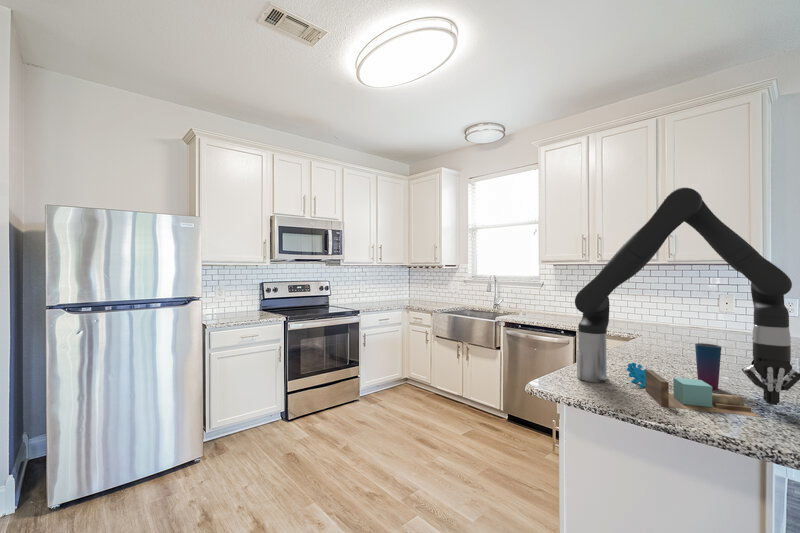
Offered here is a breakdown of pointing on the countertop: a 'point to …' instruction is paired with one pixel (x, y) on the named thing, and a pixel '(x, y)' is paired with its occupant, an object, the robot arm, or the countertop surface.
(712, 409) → the board
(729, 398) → the dowel
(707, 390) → the block
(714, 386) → the cup
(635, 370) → the gear
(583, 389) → the countertop surface
